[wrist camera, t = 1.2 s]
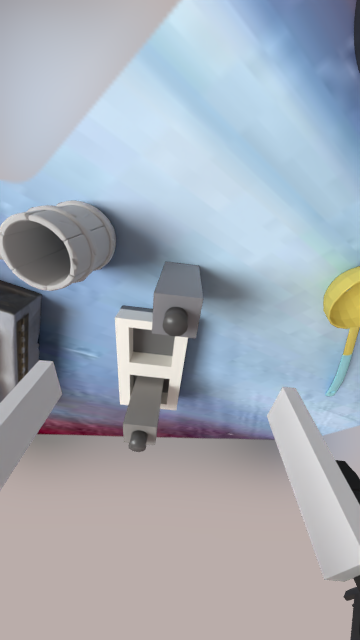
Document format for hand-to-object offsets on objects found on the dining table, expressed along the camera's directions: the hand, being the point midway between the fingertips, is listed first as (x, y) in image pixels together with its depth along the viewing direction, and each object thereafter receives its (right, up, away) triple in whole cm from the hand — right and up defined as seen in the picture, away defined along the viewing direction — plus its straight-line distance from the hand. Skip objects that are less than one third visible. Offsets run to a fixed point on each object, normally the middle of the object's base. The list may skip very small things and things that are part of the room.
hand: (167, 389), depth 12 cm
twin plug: (-4, -6, +24) cm, 26 cm away
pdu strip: (-4, -2, +23) cm, 23 cm away
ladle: (+25, +1, +20) cm, 32 cm away
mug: (-13, +15, +13) cm, 24 cm away
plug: (+1, +10, +16) cm, 18 cm away
